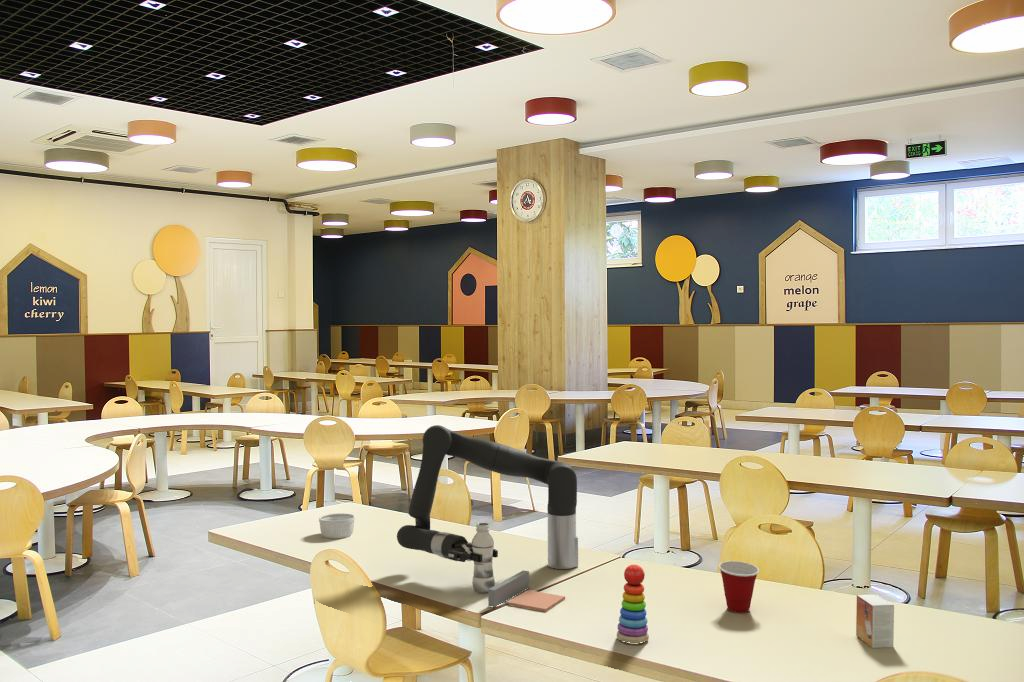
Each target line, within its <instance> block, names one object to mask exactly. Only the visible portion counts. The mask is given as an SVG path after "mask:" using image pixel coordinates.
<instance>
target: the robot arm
mask: <svg viewBox="0 0 1024 682" xmlns="http://www.w3.org/2000/svg"><path fill="white" fill-rule="evenodd" d="M446 456H450V457H454V458H455V457H456V458H460V459H462V460H464V461H467V462H468V463H471V464H473V465H475V466H477V467H479V468H483V469H485V470H488V471H490V472H493V473H497V474H500V475H504V476H510V477H516V478H517V477H520V478H528V479H532V480H535V481H538V482H541V483H542V484H546V485H547V486H548V487H547V488H548V489H547V494H548V495H547V496H548V498H547V499H548V501H547V566H548V567H549V568H551V569H554V568H555V569H556V570H570V569H573V568H578V567H579V538H578V536H577V505H578V501H577V500H578V480H577V479H578V477H577V473H576V472H575V470H574V468H572V466H571V465H570V464H568V463H566V462H564V461H560V460H559V461H558V460H553V459H548V458H544V457H539V456H536V455H533V454H530V453H528V452H525V451H523V450H520V449H518V448H515V447H512V446H509V445H506V444H502V443H499V442H496V441H491V440H486V439H482V438H475V437H471V436H466V435H464V434H461V433H458V432H456V431H453V430H451V429H449V428H446V426H443V425H440V424H438V425H436V424H435V425H432V426H430V427H428V428H427V429H426V430H425V431H424V433H423V436H422V456H421V463H420V467H419V471H418V475H417V478H416V481H415V484H414V487H413V491H412V494H411V498H410V503H409V506H408V515H409V516H410V517H411V518H413V519H415V522H414V523H415V524H414V525H412V524H406V525H403V526H402V527H400V528H399V529H398V531H397V533H396V540H397V542H398V544H399V545H400V546H401V547H403V548H405V549H409V550H416V551H422V552H425V553H429V554H432V555H436V556H438V557H439V558H443V559H447V560H449V561H454V562H462V563H466V561H467V562H471V561H472V562H474V561H475V562H479V563H480V562H482V555H481V554H477V553H473V549H472V542H468V540H467V539H466V537H465V536H462V535H460V534H459V535H458V534H455V533H450V532H445V531H439V530H438V531H437V530H435V529H434V530H433V529H431V512H432V508H433V505H434V500H435V496H436V491H437V484H438V479H439V474H440V471H441V467H442V465H443V462H444V459H445V457H446ZM498 557H499V551H498V549H495V548H493V558H498Z"/></svg>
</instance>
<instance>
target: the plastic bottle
mask: <svg viewBox="0 0 1024 682" xmlns="http://www.w3.org/2000/svg"><path fill="white" fill-rule="evenodd" d="M475 531H476V533H475V534H474V536H473V537H472V540H471V543H472V549H473V553H477V554H481V555H482V562H480V563H479V562H475V561H473V574H472V575H473V576H472V582H471V584H472V585H471V586H472V589H473V590H474V592H475V593H480V594H488V589H490V588H491V587H493V586H495V585H496V581H495V576H494V568H493V558H494V557H493V549H495V548H494V547H495V542H494V538H493V536H492V535H491V534H490V524H489V523H487V522H478V523H477V524H476V529H475Z"/></svg>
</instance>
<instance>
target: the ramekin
mask: <svg viewBox="0 0 1024 682" xmlns="http://www.w3.org/2000/svg"><path fill="white" fill-rule="evenodd" d="M355 520H356V516H355V515H354V514H352V513H346V512H345V513H344V512H343V513H329V514H324V515H322V516H320V517H319V518H318V522H319V526H320V527H319V528H320V534H321V536H322V537H323V538H325V539H333V540H335V539H336V540H337V539H343V538H345V539H346V538H348V537H350V536H352V535H353V533H354V529H355Z"/></svg>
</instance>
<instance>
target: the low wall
mask: <svg viewBox="0 0 1024 682" xmlns="http://www.w3.org/2000/svg"><path fill="white" fill-rule="evenodd" d="M527 588H528V589H530V571H528V570H524V569H522V571H519V572H518V573H516V574H514V575H512V576H509V577H508V578H506V579H505V580H503V581H501V582H499V583H497V584H495V586H493V587H491V588H490V589H488V593H487V594H488V597H487V598H488V599H487V600H488V605H487V606H488V607H489V606H493V607H496V606H497V605H499V604H501V603H503V602H504V601H506V600H508V599H509V600H511V599H513V598H514V597H513V596H515V595H516V596H518V595H520V594H522V593H523V592H525V591H526V590H525V589H527ZM528 589H527V590H528ZM524 590H525V591H524ZM522 591H523V592H522ZM519 593H520V594H519ZM517 594H518V595H517ZM516 596H515V597H516ZM512 597H513V598H512ZM510 598H511V599H510ZM509 600H508V601H509ZM506 602H507V601H506ZM504 603H505V602H504ZM504 603H503V604H504ZM501 605H502V604H501ZM499 606H500V605H499ZM497 607H498V606H497ZM497 607H496V608H497Z"/></svg>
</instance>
